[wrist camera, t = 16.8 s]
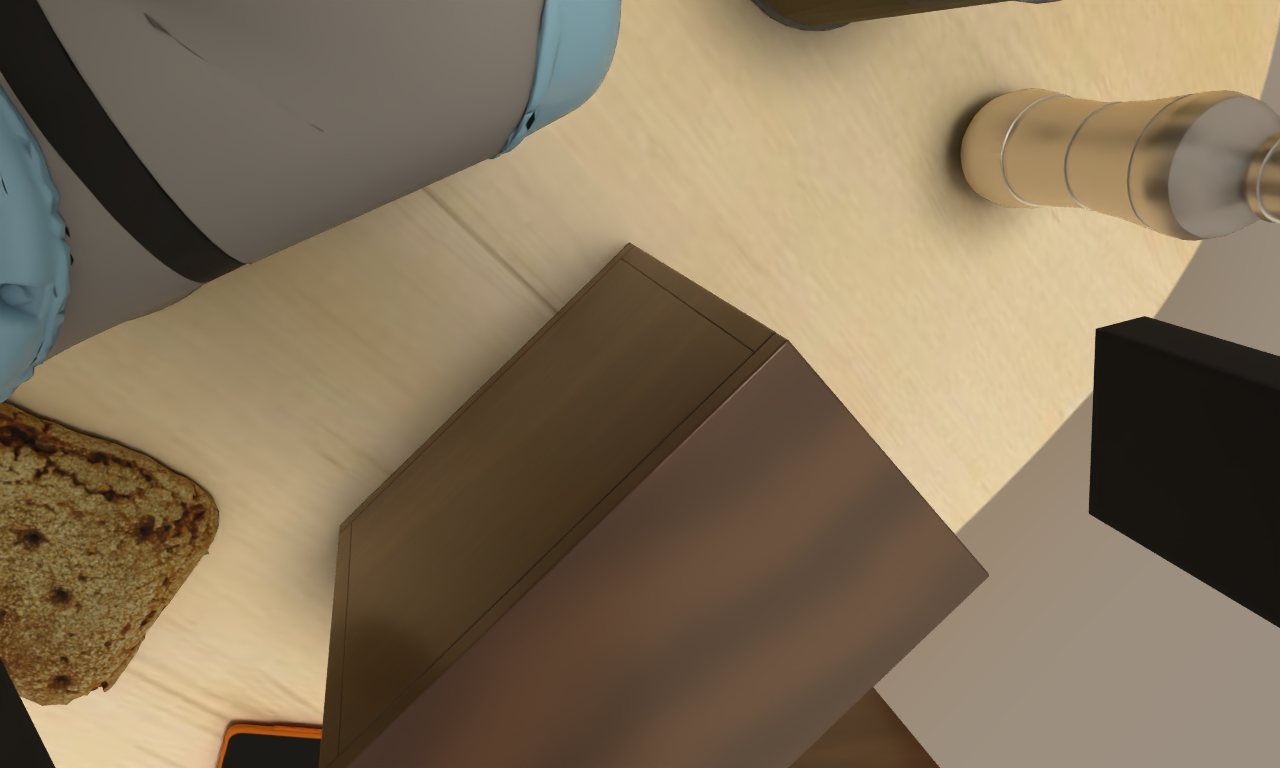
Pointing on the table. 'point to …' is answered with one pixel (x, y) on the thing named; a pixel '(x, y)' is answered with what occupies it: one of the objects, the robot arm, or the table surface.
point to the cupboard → (632, 555)
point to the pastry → (86, 554)
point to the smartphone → (270, 747)
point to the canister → (856, 10)
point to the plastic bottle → (1131, 158)
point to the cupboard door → (867, 740)
